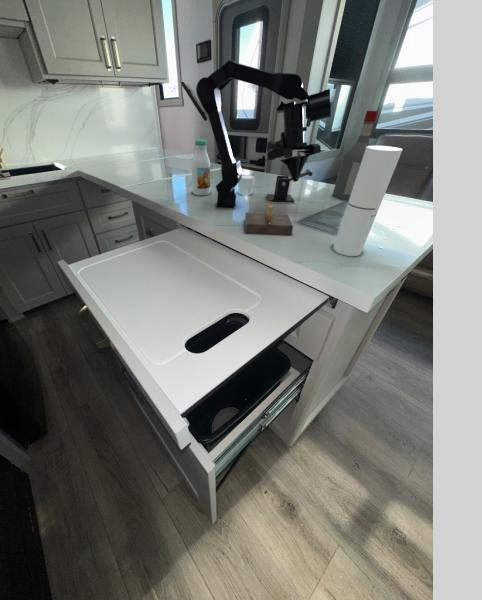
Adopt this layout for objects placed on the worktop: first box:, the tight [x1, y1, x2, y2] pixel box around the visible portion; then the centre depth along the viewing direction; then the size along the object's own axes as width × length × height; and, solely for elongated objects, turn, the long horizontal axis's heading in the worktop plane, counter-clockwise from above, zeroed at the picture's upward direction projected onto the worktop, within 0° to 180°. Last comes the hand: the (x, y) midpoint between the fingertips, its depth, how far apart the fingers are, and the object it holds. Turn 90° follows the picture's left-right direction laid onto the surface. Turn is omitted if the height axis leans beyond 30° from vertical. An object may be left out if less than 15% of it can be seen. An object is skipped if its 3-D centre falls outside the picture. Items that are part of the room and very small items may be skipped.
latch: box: [284, 168, 313, 182], centre depth 103 cm, size 12×5×2 cm, turn 86°
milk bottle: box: [191, 139, 211, 196], centre depth 109 cm, size 8×8×20 cm
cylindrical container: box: [333, 145, 403, 257], centre depth 66 cm, size 7×7×25 cm
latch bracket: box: [266, 175, 295, 204], centre depth 106 cm, size 10×8×9 cm
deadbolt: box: [265, 200, 274, 222], centre depth 83 cm, size 5×1×5 cm, turn 174°
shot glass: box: [237, 174, 256, 196], centre depth 113 cm, size 7×7×7 cm
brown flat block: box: [244, 212, 294, 236], centre depth 85 cm, size 14×10×3 cm
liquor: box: [332, 110, 379, 202], centre depth 103 cm, size 9×9×30 cm
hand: (295, 181), depth 86 cm, fingers closed
